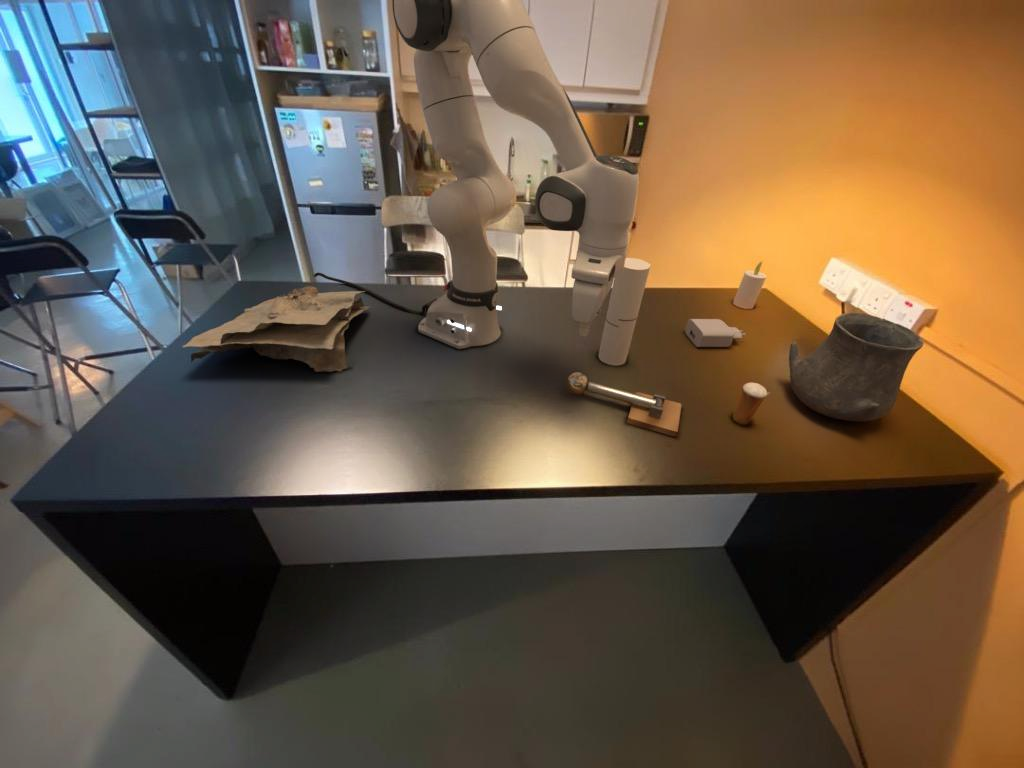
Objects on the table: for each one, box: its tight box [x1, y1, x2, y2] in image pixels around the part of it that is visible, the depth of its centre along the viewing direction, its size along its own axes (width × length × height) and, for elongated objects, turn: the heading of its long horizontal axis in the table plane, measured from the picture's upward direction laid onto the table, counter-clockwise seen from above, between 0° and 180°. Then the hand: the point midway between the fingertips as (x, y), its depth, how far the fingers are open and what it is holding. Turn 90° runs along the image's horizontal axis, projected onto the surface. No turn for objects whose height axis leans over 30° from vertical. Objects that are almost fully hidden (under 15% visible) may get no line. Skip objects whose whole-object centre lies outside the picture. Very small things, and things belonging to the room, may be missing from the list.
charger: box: [684, 318, 747, 348], centre depth 118 cm, size 5×9×15 cm
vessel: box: [788, 312, 925, 422], centre depth 92 cm, size 22×22×20 cm
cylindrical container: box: [597, 257, 651, 366], centre depth 102 cm, size 7×7×25 cm
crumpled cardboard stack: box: [182, 285, 370, 373], centre depth 105 cm, size 35×16×32 cm
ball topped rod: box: [565, 371, 663, 409], centre depth 92 cm, size 21×5×5 cm, turn 68°
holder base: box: [626, 391, 682, 438], centre depth 90 cm, size 10×10×4 cm
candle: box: [732, 260, 767, 310], centre depth 136 cm, size 6×6×15 cm
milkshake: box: [732, 381, 776, 425], centre depth 89 cm, size 4×5×10 cm
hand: (589, 324), depth 86 cm, fingers open, 8 cm apart
